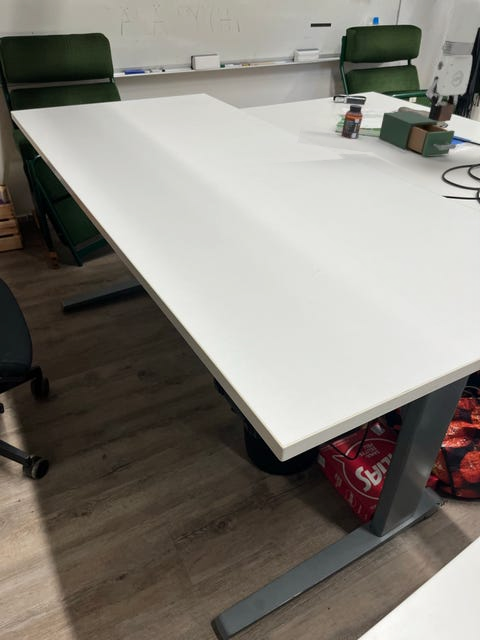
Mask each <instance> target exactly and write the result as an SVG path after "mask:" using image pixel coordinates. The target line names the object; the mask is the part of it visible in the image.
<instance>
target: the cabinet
mask: <svg viewBox="0 0 480 640" xmlns="http://www.w3.org/2000/svg"><path fill="white" fill-rule="evenodd" d="M438 123H439V122H438V121H434V120H432V119H429V118H428V117H427V116H424V115H421V114H419V113H416V112H414V111H411V110H406V111H405V110H404V111H392V112H391V111H390V112H384V113H383V117H382V122H381V124H380V125H381V126H380V130H379V131H380V132H379V136H378V139H379V140H381V141H384V142H386V143H388V144H390V145H392V146H395V147H397V148H399V149H402V150H403V151H413V149H411V148H409V147H407V144H408V140H409V136H410V131H411V127H412V126H415V125H426V124H433V125H435V126H438Z"/></svg>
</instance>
